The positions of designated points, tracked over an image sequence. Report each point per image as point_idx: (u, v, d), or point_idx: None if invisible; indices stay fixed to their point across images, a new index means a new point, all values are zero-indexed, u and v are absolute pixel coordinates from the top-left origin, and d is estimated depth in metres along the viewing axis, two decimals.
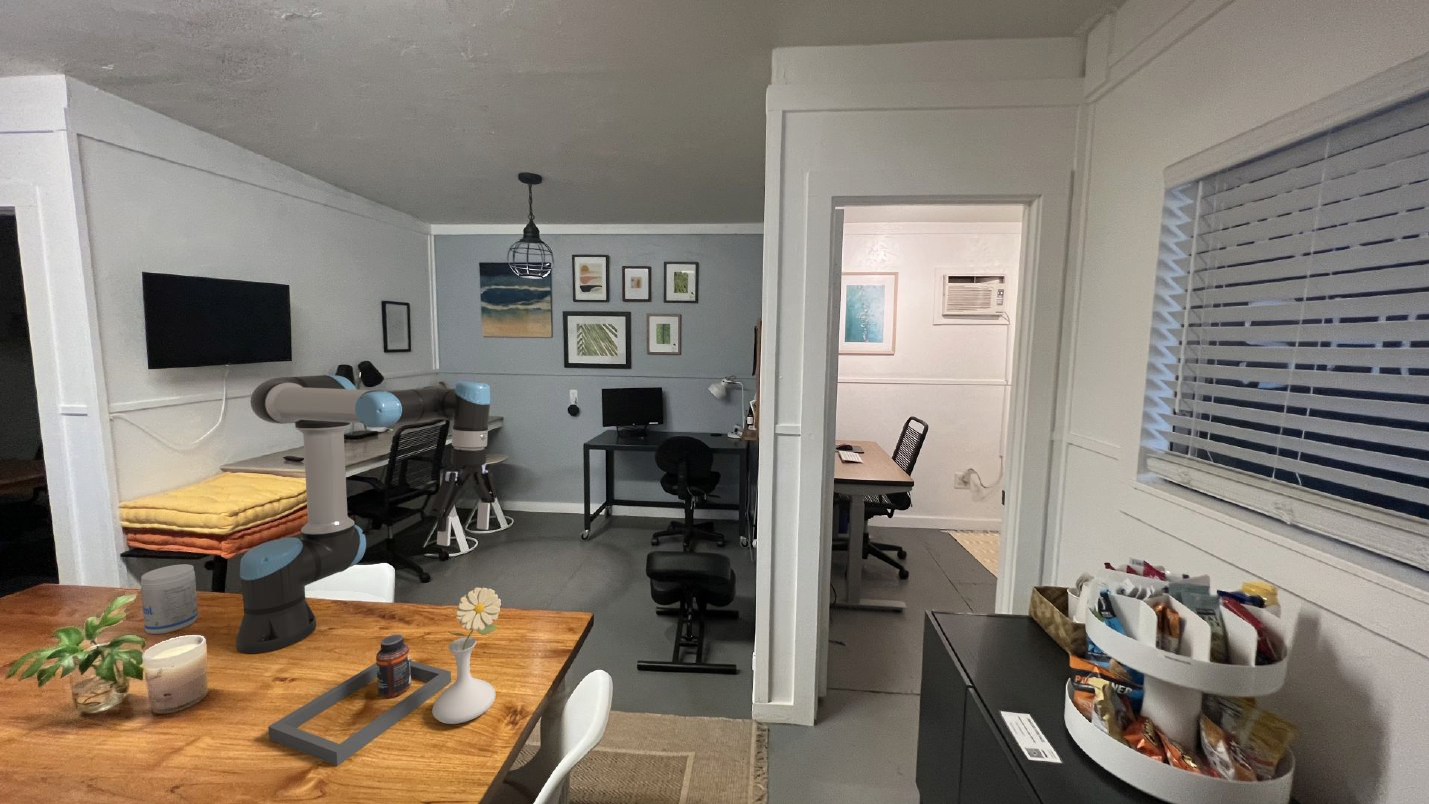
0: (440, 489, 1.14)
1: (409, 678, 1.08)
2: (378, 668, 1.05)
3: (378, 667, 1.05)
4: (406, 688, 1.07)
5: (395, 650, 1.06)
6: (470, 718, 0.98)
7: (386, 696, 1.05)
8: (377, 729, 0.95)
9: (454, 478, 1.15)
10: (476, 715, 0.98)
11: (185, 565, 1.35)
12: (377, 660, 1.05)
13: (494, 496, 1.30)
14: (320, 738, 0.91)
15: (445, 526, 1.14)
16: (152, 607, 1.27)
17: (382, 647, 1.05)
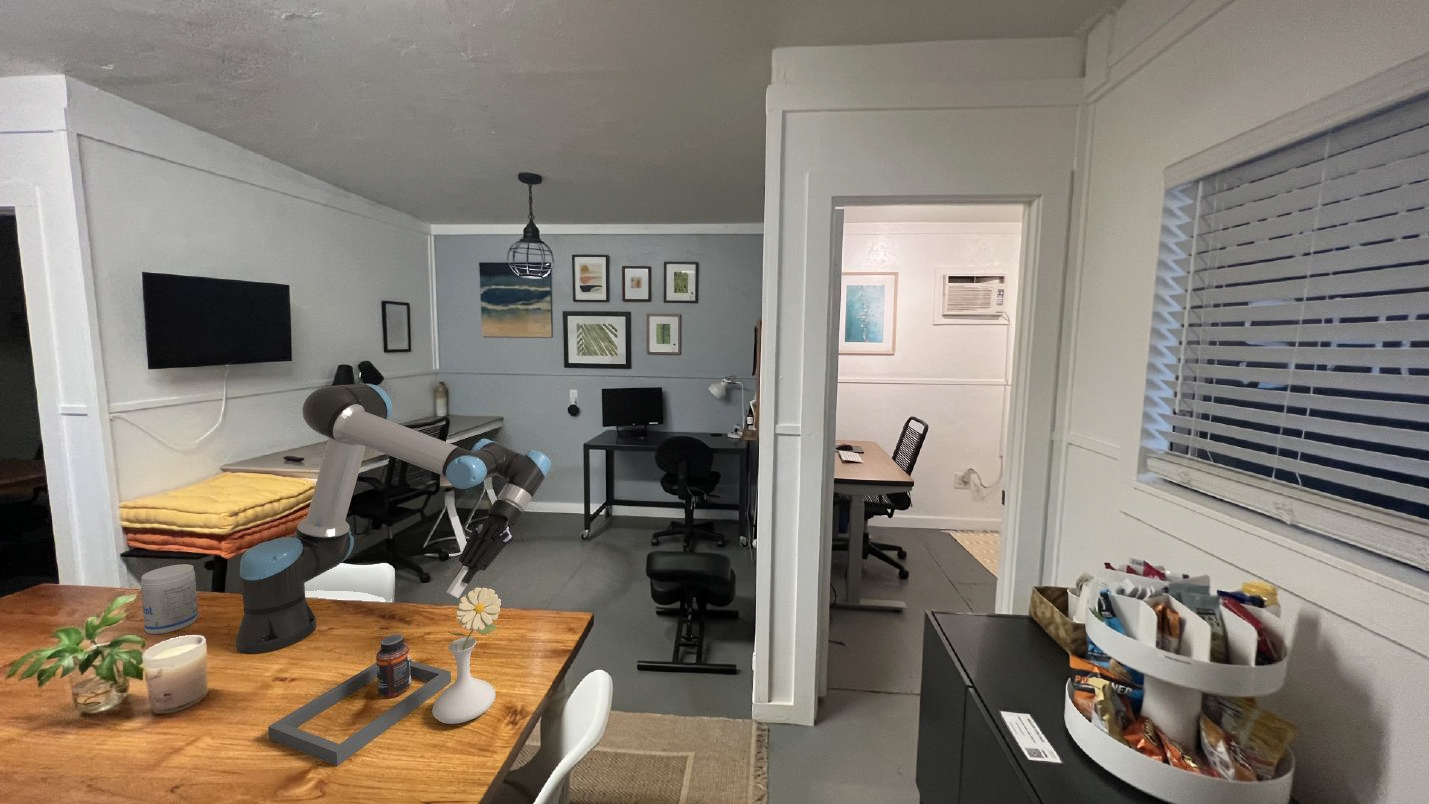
0: (495, 547, 1.22)
1: (409, 678, 1.08)
2: (378, 668, 1.05)
3: (378, 667, 1.05)
4: (406, 688, 1.07)
5: (395, 650, 1.06)
6: (470, 718, 0.98)
7: (386, 696, 1.05)
8: (377, 729, 0.95)
9: None
10: (476, 715, 0.98)
11: (185, 565, 1.35)
12: (377, 660, 1.05)
13: None
14: (320, 738, 0.91)
15: None
16: (152, 607, 1.27)
17: (382, 647, 1.05)
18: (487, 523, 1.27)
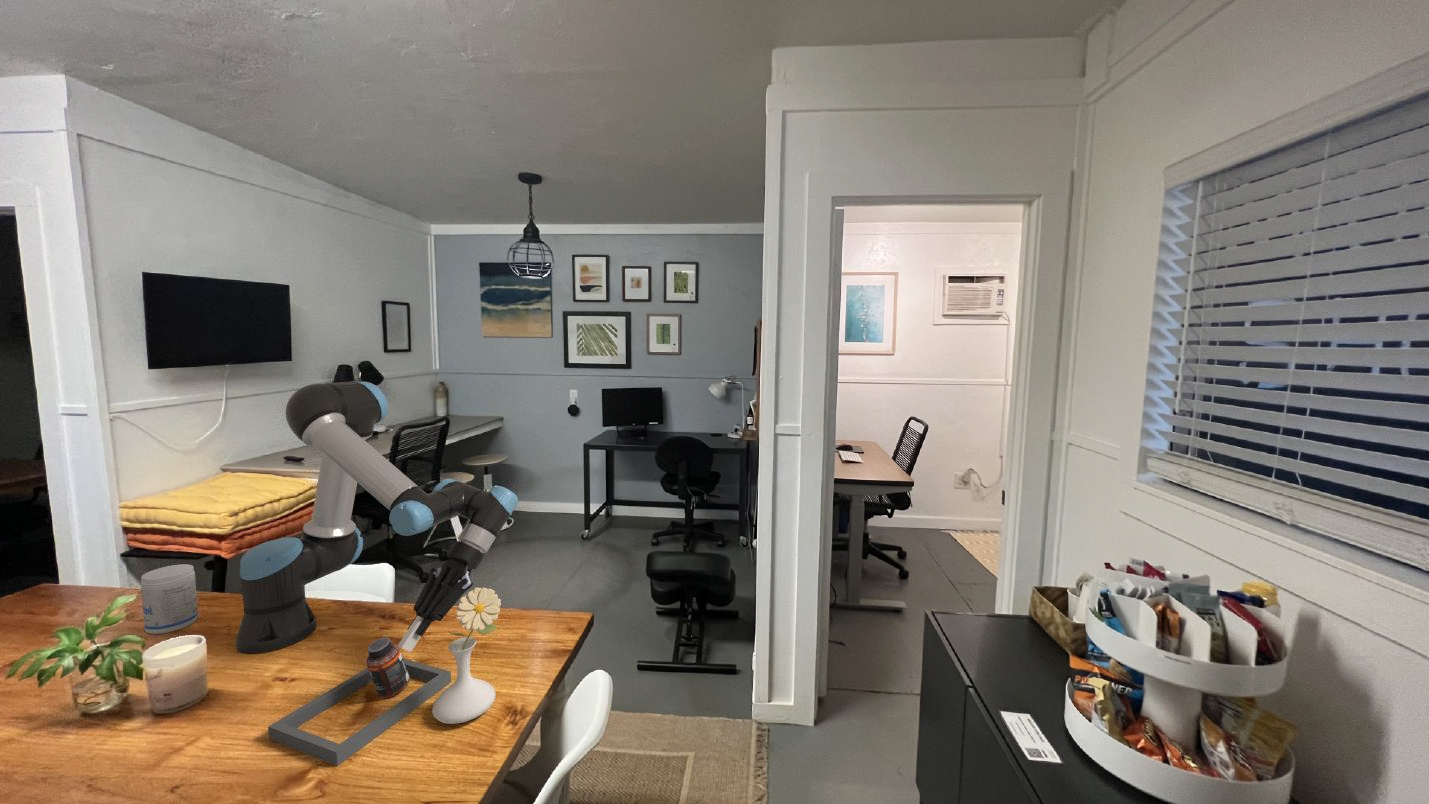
0: (452, 595, 1.13)
1: (406, 675, 1.08)
2: (370, 673, 1.04)
3: (370, 672, 1.04)
4: (404, 685, 1.07)
5: (384, 655, 1.04)
6: (470, 718, 0.98)
7: (385, 696, 1.05)
8: (377, 729, 0.95)
9: None
10: (476, 715, 0.98)
11: (185, 565, 1.35)
12: (368, 666, 1.03)
13: None
14: (320, 738, 0.91)
15: None
16: (152, 607, 1.27)
17: (370, 654, 1.03)
18: (445, 567, 1.18)
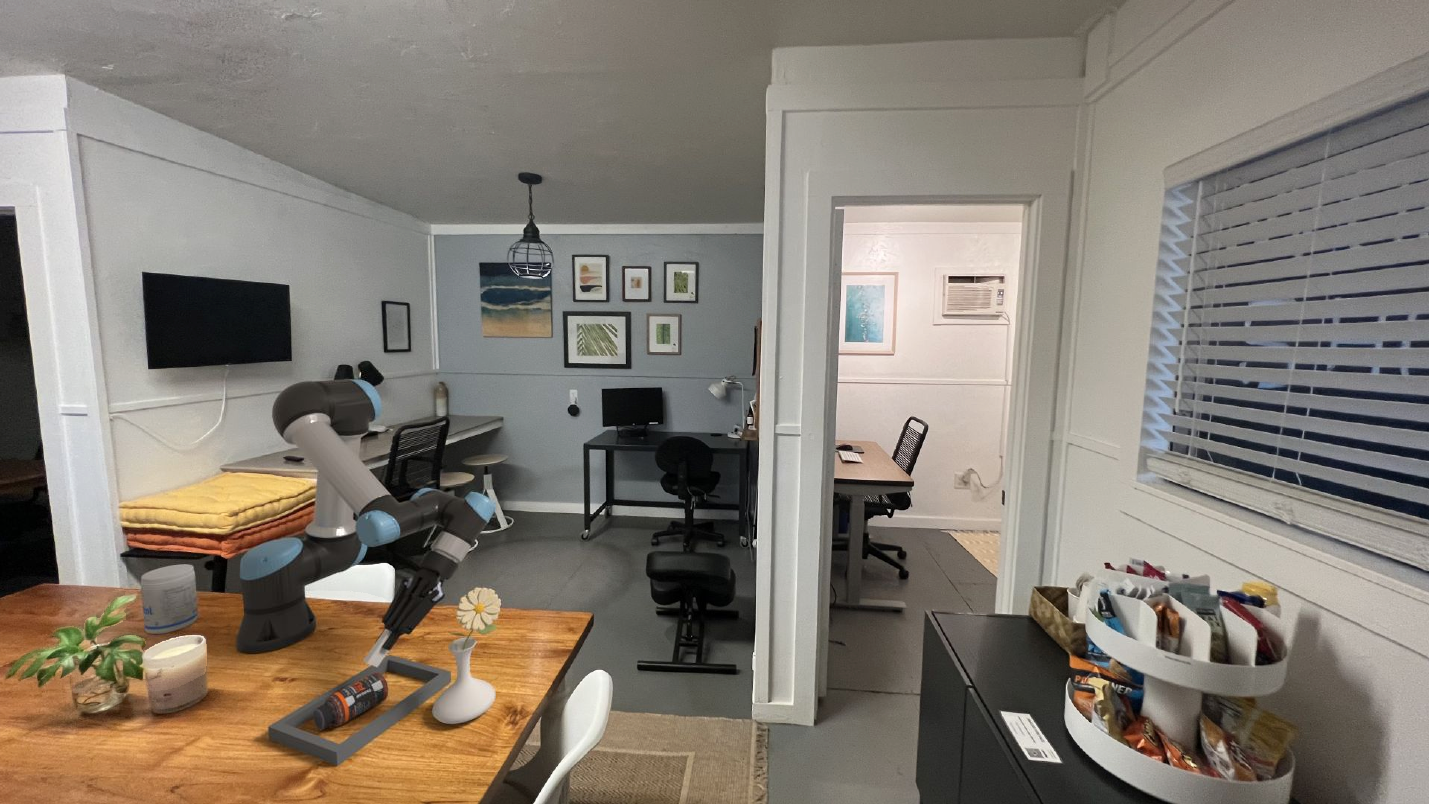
0: (422, 607, 1.08)
1: (376, 689, 1.02)
2: None
3: None
4: (385, 691, 1.03)
5: (333, 721, 0.96)
6: (470, 718, 0.98)
7: None
8: (377, 729, 0.95)
9: None
10: (476, 715, 0.98)
11: (185, 565, 1.35)
12: None
13: None
14: (320, 738, 0.91)
15: None
16: (152, 607, 1.27)
17: None
18: (416, 578, 1.13)
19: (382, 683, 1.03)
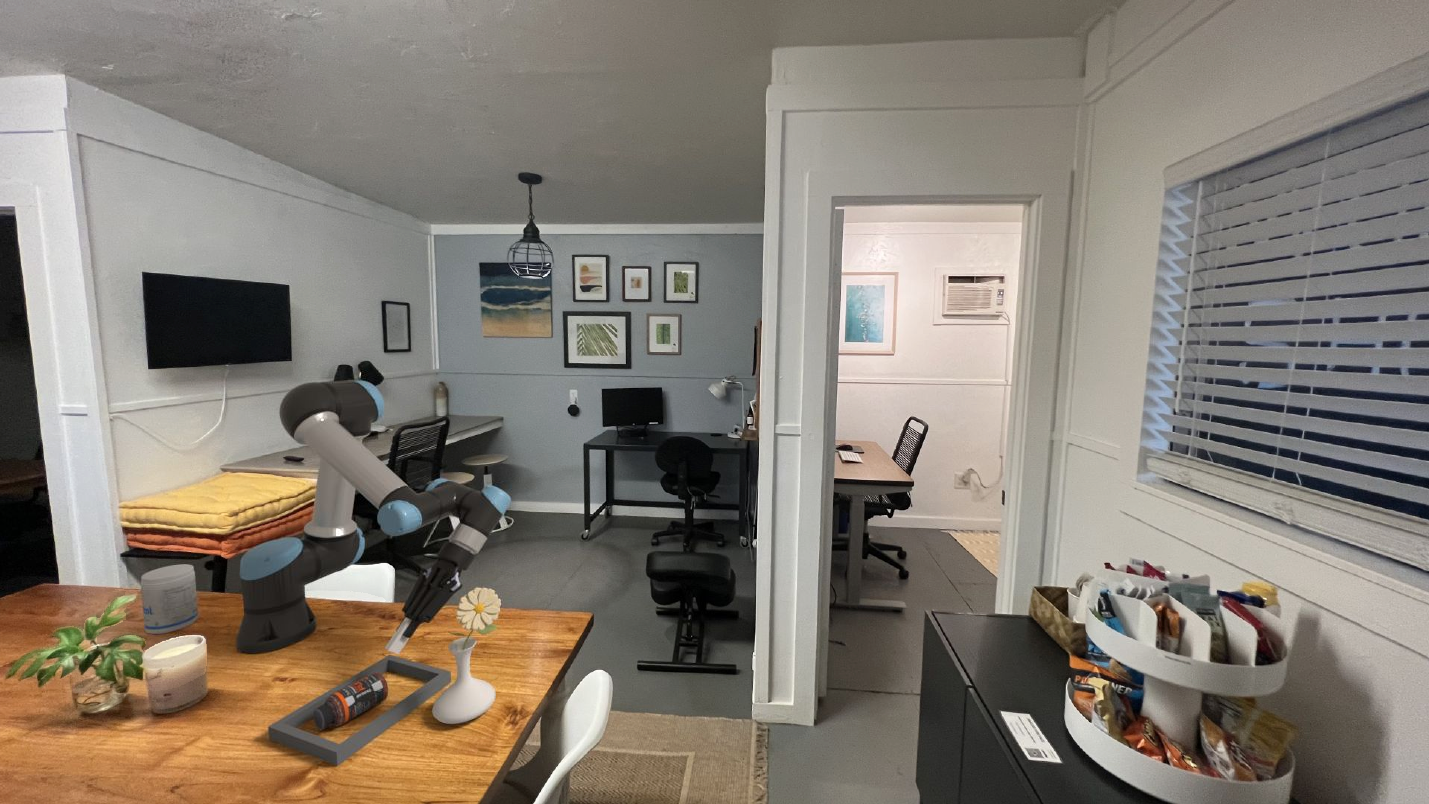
0: (441, 597, 1.11)
1: (376, 689, 1.02)
2: None
3: None
4: (385, 691, 1.03)
5: (333, 721, 0.96)
6: (470, 718, 0.98)
7: None
8: (377, 729, 0.95)
9: None
10: (476, 715, 0.98)
11: (185, 565, 1.35)
12: None
13: None
14: (320, 738, 0.91)
15: None
16: (152, 607, 1.27)
17: None
18: (435, 568, 1.16)
19: (382, 683, 1.03)
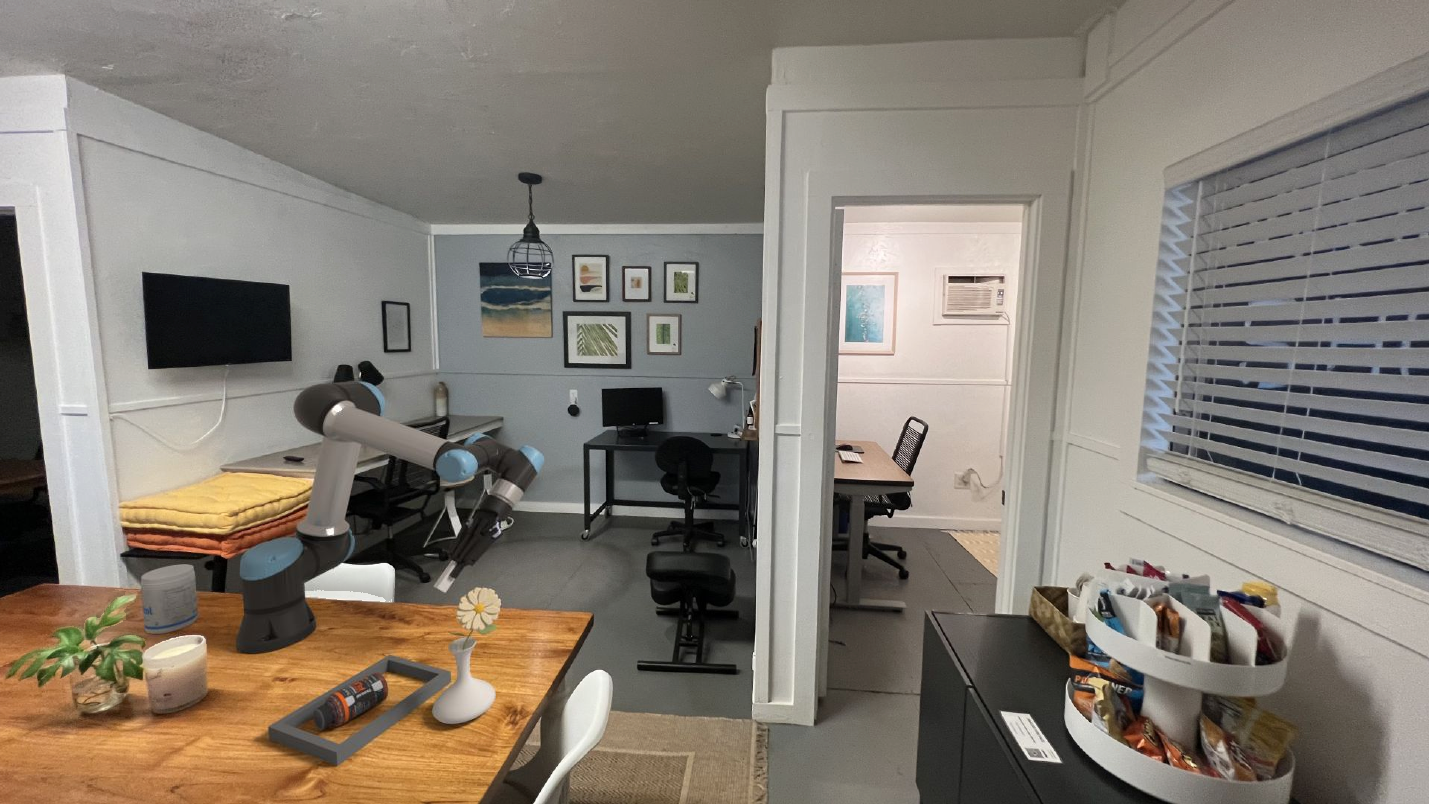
0: (484, 542, 1.21)
1: (376, 689, 1.02)
2: None
3: None
4: (385, 691, 1.03)
5: (333, 721, 0.96)
6: (470, 718, 0.98)
7: None
8: (377, 729, 0.95)
9: None
10: (476, 715, 0.98)
11: (185, 565, 1.35)
12: None
13: None
14: (320, 738, 0.91)
15: None
16: (152, 607, 1.27)
17: None
18: (477, 518, 1.26)
19: (382, 683, 1.03)
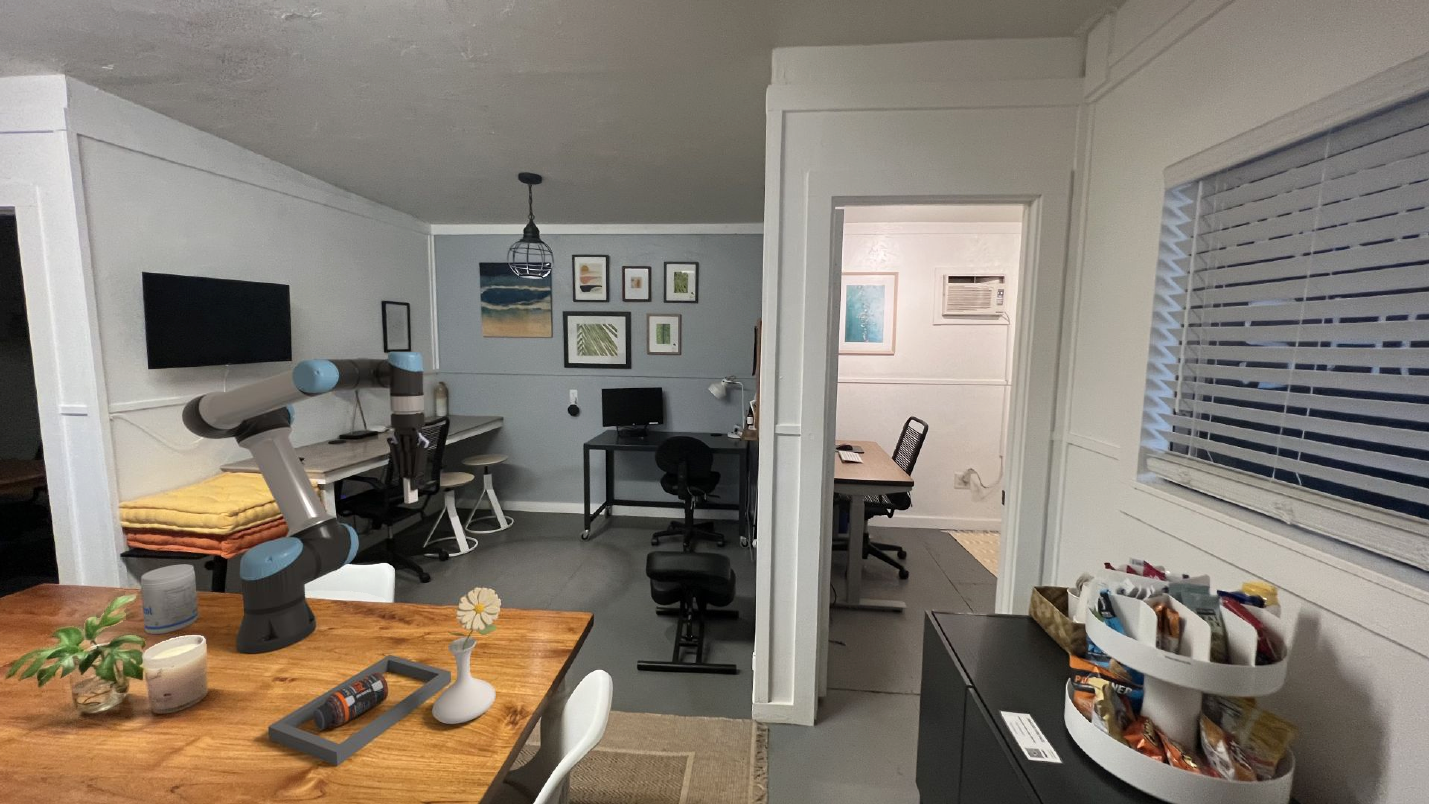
0: (421, 456, 1.30)
1: (376, 689, 1.02)
2: None
3: None
4: (385, 691, 1.03)
5: (333, 721, 0.96)
6: (470, 718, 0.98)
7: None
8: (377, 729, 0.95)
9: None
10: (476, 715, 0.98)
11: (185, 565, 1.35)
12: None
13: None
14: (320, 738, 0.91)
15: None
16: (152, 607, 1.27)
17: None
18: (398, 437, 1.31)
19: (382, 683, 1.03)
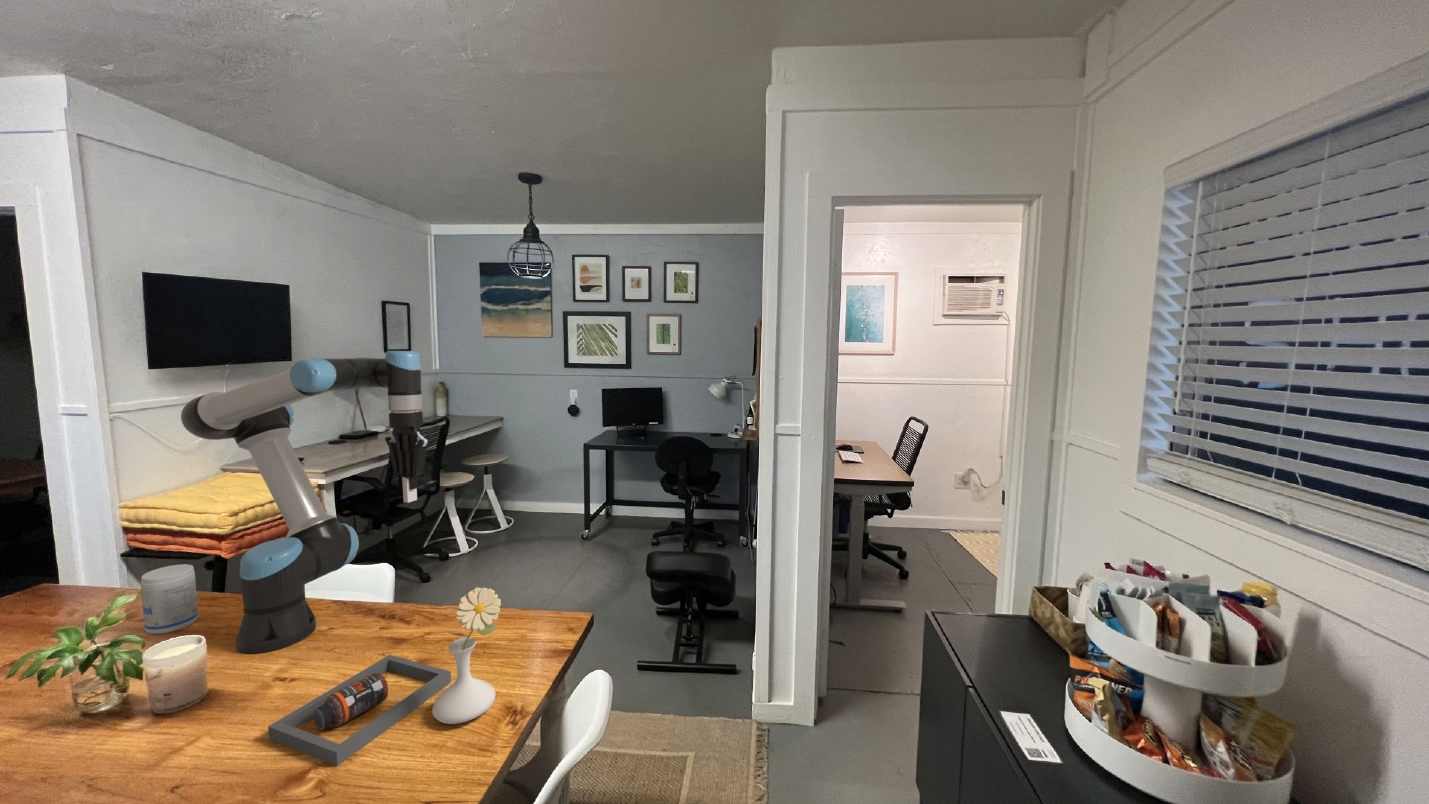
0: (419, 455, 1.30)
1: (376, 689, 1.02)
2: None
3: None
4: (385, 691, 1.03)
5: (333, 721, 0.96)
6: (470, 718, 0.98)
7: None
8: (377, 729, 0.95)
9: None
10: (476, 715, 0.98)
11: (185, 565, 1.35)
12: None
13: None
14: (320, 738, 0.91)
15: None
16: (152, 607, 1.27)
17: None
18: (396, 436, 1.31)
19: (382, 683, 1.03)
